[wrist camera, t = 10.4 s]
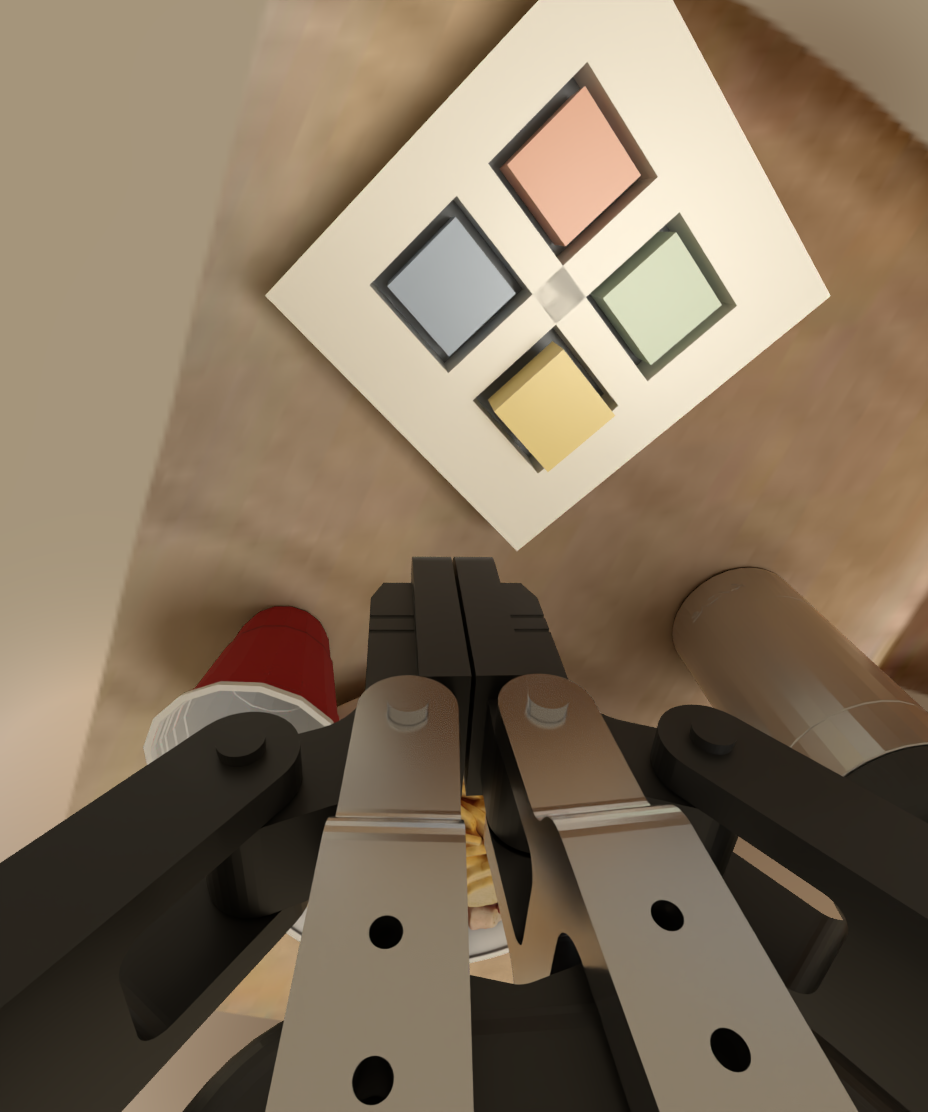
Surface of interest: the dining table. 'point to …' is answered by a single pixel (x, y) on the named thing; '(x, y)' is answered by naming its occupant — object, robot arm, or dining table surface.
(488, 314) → the key slate
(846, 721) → the robot arm
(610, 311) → the key sage
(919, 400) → the dining table surface
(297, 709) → the plastic cup
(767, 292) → the keypad board
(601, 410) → the key mustard
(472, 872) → the bowl
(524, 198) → the key terracotta
